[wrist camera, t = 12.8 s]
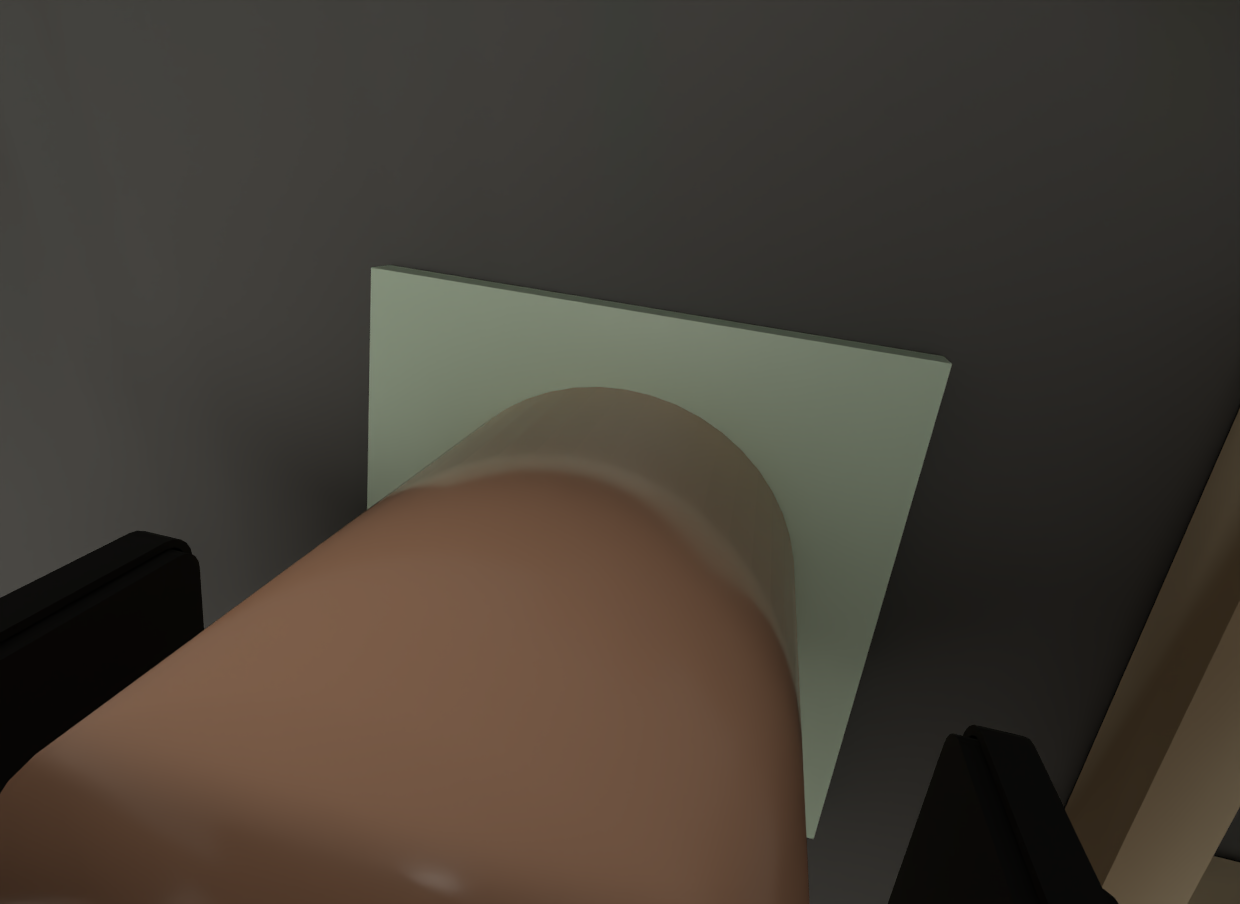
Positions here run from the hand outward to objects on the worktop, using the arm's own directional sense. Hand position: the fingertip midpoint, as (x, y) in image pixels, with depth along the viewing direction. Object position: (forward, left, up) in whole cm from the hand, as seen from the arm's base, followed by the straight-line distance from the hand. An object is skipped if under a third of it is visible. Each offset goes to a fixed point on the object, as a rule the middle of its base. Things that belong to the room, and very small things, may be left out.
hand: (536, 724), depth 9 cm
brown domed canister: (0, +2, -4) cm, 4 cm away
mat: (0, 0, -5) cm, 5 cm away
